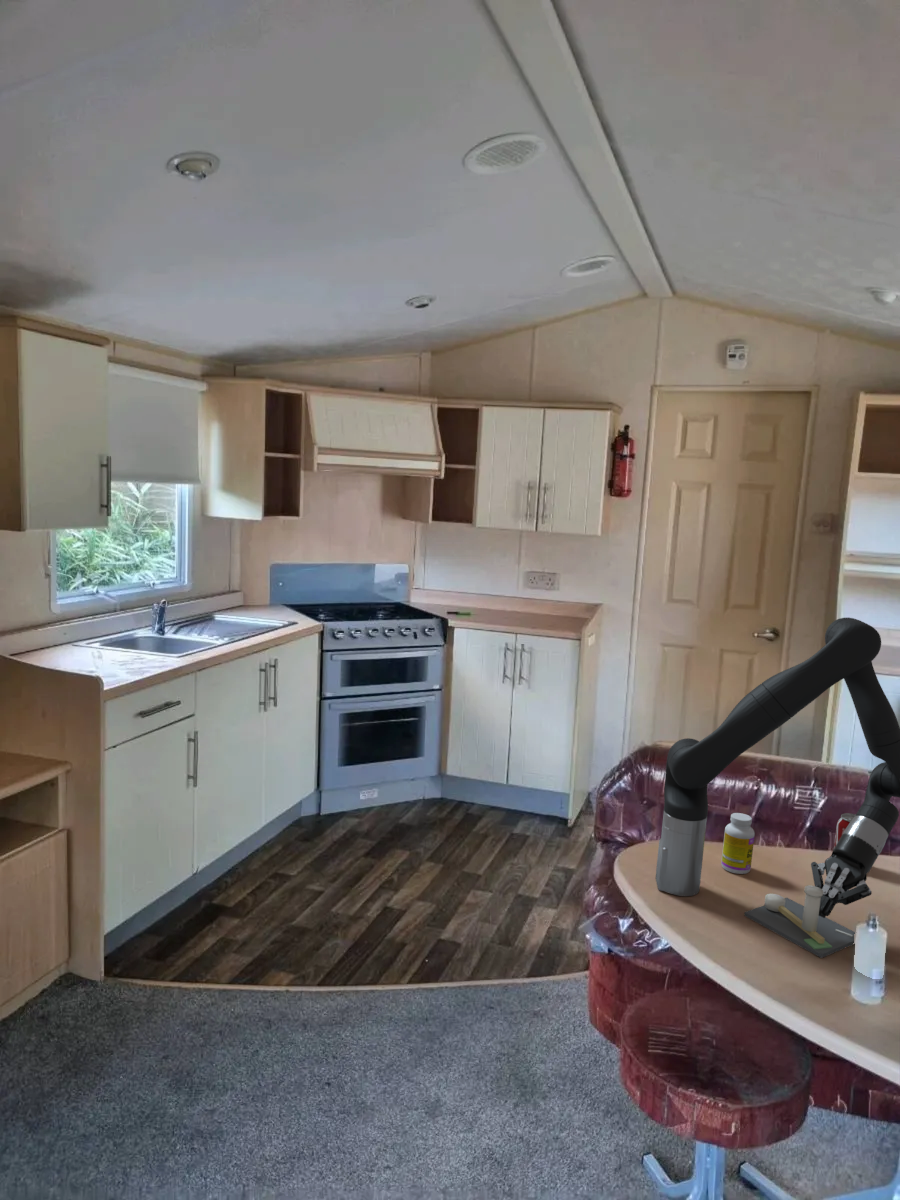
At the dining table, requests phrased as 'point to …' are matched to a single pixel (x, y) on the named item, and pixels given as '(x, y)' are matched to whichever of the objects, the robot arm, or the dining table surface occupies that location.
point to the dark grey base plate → (783, 926)
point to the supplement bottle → (738, 844)
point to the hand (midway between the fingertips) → (819, 914)
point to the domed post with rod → (809, 913)
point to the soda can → (842, 825)
